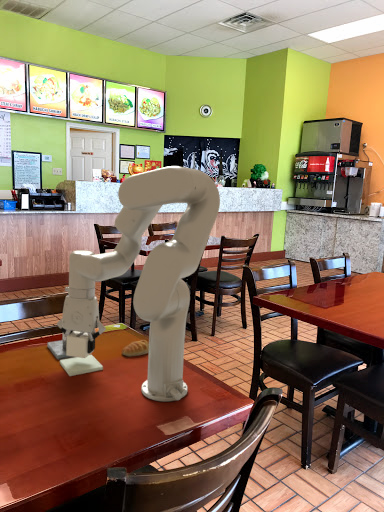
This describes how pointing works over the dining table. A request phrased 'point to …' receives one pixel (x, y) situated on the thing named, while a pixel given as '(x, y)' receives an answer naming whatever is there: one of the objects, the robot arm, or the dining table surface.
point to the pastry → (136, 348)
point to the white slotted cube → (77, 344)
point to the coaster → (80, 365)
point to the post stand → (59, 348)
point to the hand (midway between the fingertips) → (80, 349)
